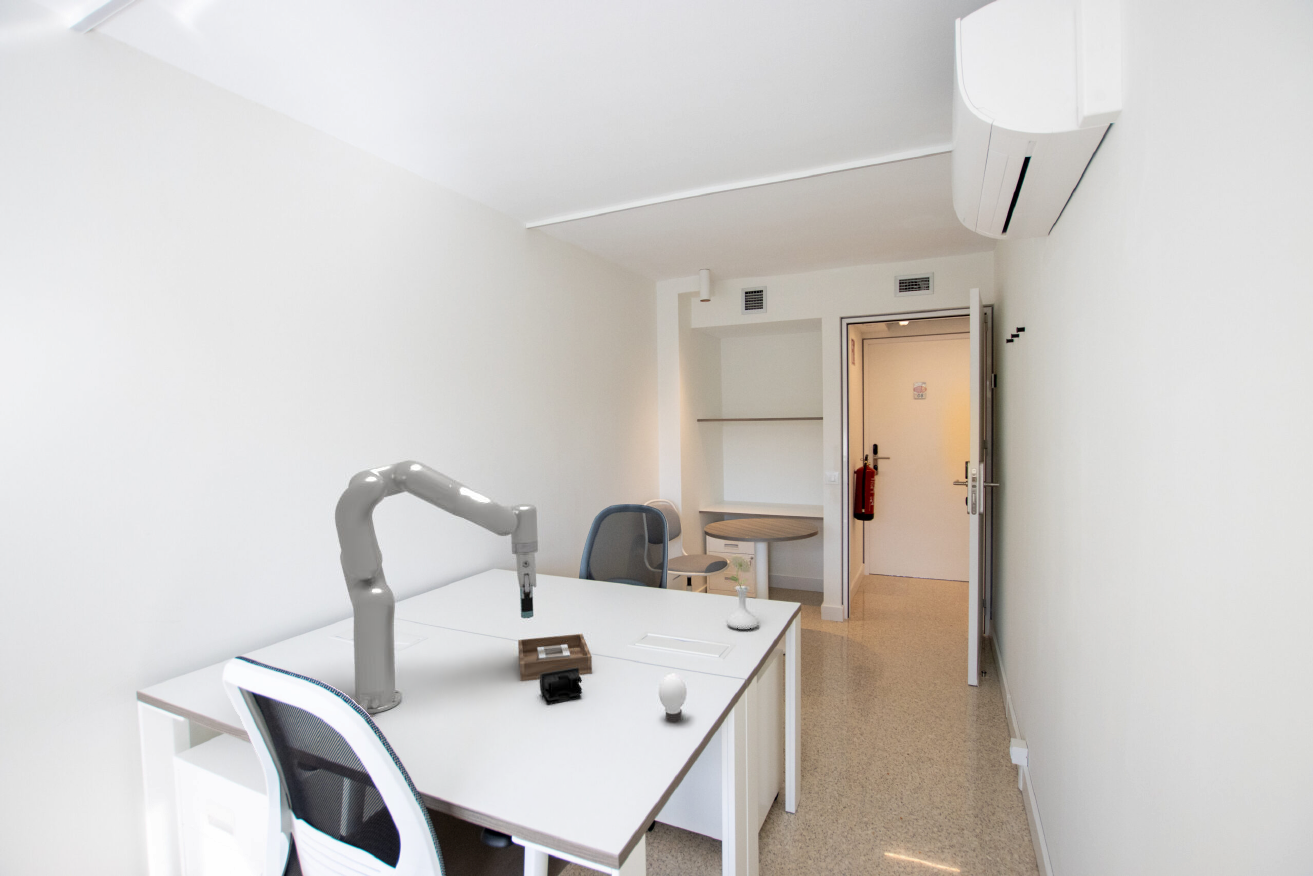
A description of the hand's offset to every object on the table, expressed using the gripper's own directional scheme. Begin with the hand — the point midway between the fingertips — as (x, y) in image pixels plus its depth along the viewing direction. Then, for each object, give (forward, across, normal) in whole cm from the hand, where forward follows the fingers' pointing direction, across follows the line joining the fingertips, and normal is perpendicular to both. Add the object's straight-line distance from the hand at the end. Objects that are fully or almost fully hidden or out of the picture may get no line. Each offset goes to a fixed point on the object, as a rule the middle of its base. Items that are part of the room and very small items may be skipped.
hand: (527, 608), depth 183 cm
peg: (+2, 0, 0) cm, 2 cm away
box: (+18, +2, -7) cm, 20 cm away
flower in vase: (+20, +19, -74) cm, 79 cm away
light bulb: (+19, -41, -32) cm, 55 cm away
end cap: (+18, -21, -7) cm, 29 cm away
